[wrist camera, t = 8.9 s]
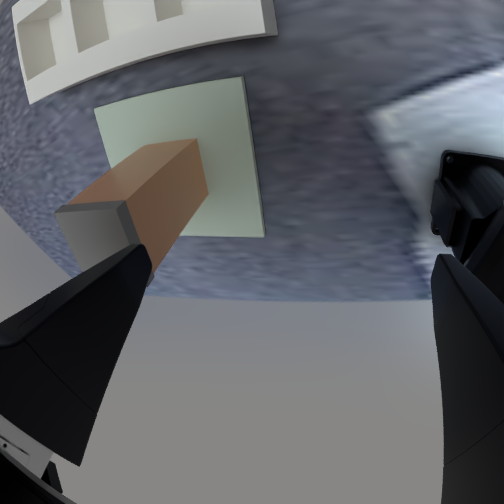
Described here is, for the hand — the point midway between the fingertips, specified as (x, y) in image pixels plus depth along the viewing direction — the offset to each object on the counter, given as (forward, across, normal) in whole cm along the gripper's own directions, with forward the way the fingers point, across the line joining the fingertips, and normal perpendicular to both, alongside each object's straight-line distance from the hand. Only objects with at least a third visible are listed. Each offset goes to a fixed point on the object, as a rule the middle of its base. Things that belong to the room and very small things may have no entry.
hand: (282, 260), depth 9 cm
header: (+13, +10, -11) cm, 20 cm away
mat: (+13, +10, +2) cm, 17 cm away
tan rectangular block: (+12, +10, +2) cm, 16 cm away
